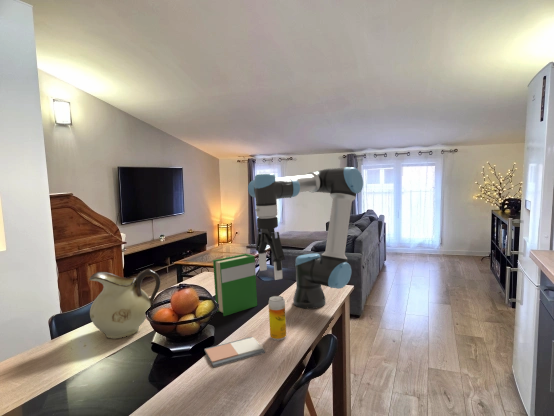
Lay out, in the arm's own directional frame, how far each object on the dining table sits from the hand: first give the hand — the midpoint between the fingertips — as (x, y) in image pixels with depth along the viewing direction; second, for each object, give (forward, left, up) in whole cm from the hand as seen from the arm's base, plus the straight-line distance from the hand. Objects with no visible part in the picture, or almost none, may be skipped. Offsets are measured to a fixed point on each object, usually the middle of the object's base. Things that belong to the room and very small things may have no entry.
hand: (270, 274), depth 125 cm
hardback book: (+2, -36, -25) cm, 44 cm away
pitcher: (+50, -38, -25) cm, 68 cm away
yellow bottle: (-2, 0, -25) cm, 25 cm away
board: (+16, +2, -25) cm, 29 cm away
